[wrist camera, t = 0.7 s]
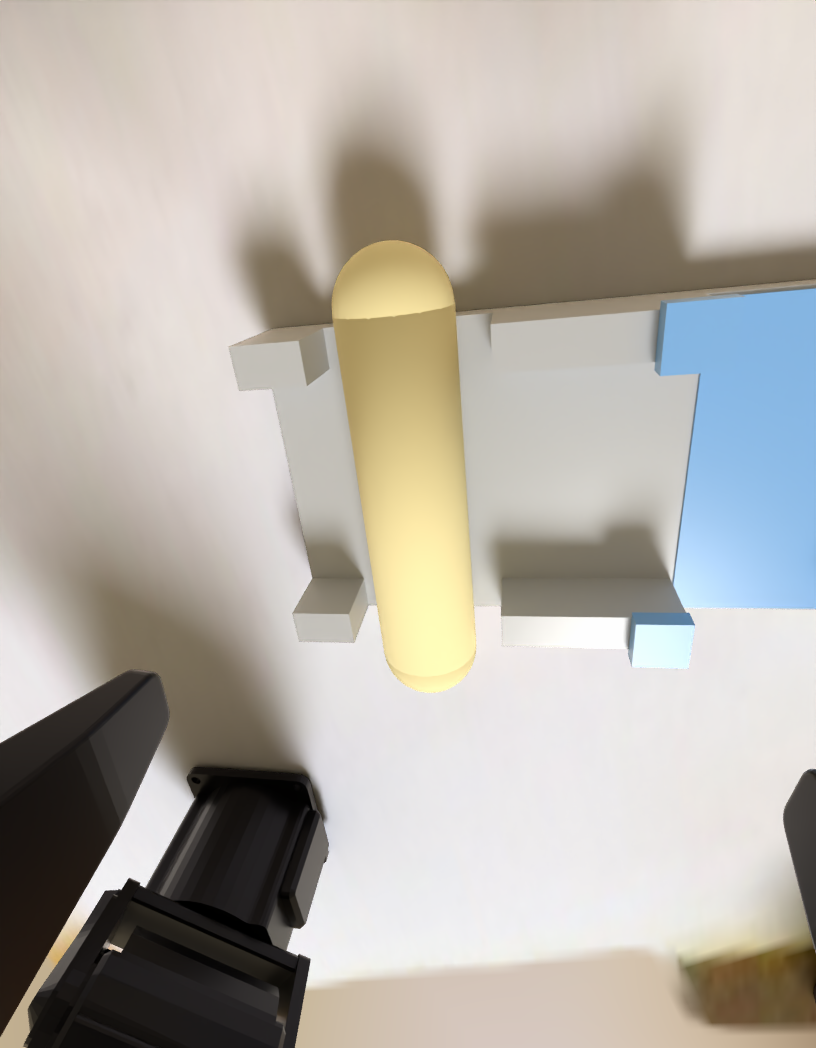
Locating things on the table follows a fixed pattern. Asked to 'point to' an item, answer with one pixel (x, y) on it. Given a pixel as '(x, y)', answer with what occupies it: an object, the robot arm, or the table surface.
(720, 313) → the toy block layout
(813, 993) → the coffee mug
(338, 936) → the table surface
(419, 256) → the cream capsule cylinder
